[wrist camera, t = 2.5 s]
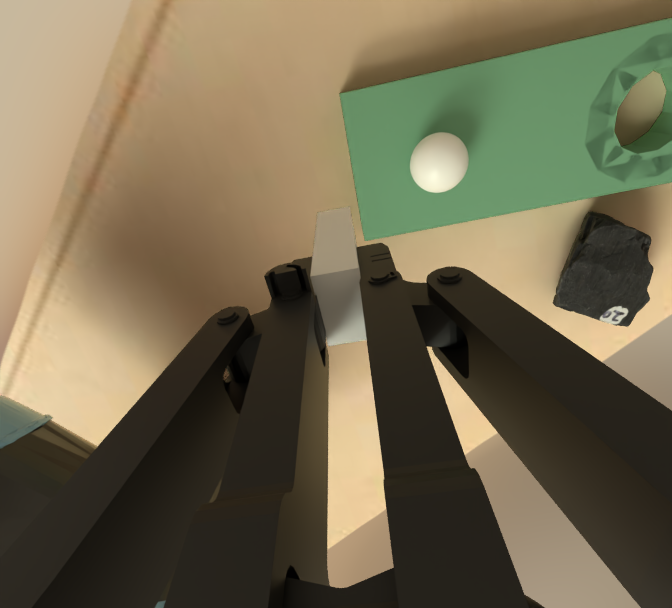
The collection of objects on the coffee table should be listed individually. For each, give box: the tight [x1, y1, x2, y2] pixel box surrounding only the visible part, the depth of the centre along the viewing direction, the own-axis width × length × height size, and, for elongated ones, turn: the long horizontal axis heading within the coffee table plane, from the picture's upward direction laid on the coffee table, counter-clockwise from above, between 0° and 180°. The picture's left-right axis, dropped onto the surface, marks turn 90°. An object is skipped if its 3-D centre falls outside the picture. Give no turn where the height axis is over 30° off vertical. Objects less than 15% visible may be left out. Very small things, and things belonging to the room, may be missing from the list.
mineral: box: [553, 211, 653, 327], centre depth 33 cm, size 10×9×6 cm
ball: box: [410, 132, 469, 193], centre depth 26 cm, size 4×4×4 cm
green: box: [339, 17, 672, 241], centre depth 27 cm, size 28×11×6 cm, turn 101°
